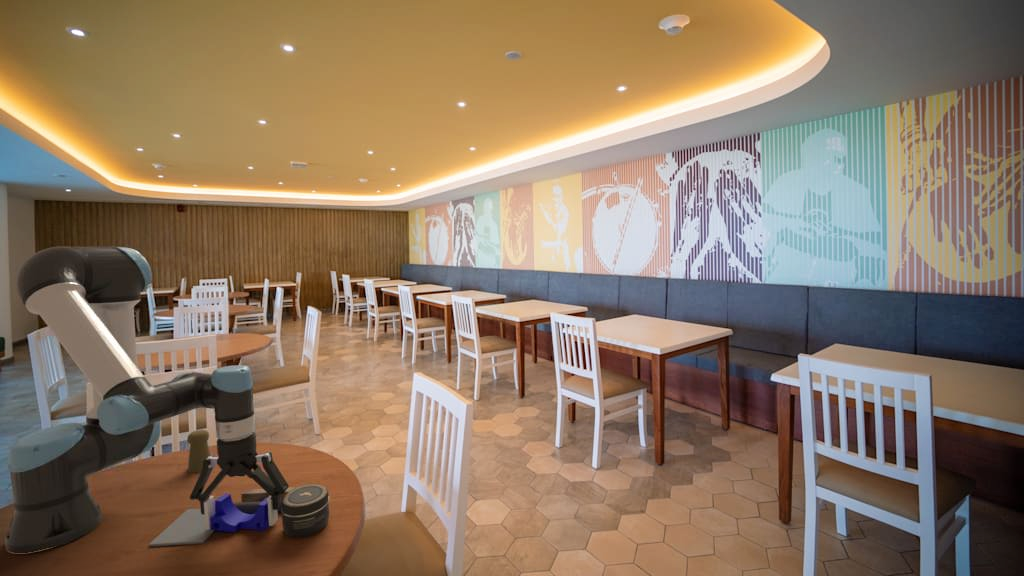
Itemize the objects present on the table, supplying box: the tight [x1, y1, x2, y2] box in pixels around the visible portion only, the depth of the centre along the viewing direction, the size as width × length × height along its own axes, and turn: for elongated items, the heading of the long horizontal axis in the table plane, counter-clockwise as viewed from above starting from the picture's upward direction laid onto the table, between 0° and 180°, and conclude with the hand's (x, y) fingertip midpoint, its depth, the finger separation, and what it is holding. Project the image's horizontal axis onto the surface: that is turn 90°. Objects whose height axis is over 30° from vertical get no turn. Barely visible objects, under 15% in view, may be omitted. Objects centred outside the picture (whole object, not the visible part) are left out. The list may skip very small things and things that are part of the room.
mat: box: [148, 508, 216, 547], centre depth 102 cm, size 11×13×1 cm
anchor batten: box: [240, 486, 299, 503], centre depth 113 cm, size 14×2×2 cm, turn 95°
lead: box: [233, 502, 281, 514], centre depth 108 cm, size 14×2×2 cm
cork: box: [187, 429, 211, 474], centre depth 130 cm, size 6×6×11 cm
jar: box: [280, 483, 330, 539], centre depth 102 cm, size 10×10×8 cm
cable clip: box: [210, 493, 270, 533], centre depth 101 cm, size 12×4×6 cm, turn 84°
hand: (242, 524), depth 101 cm, fingers open, 13 cm apart
